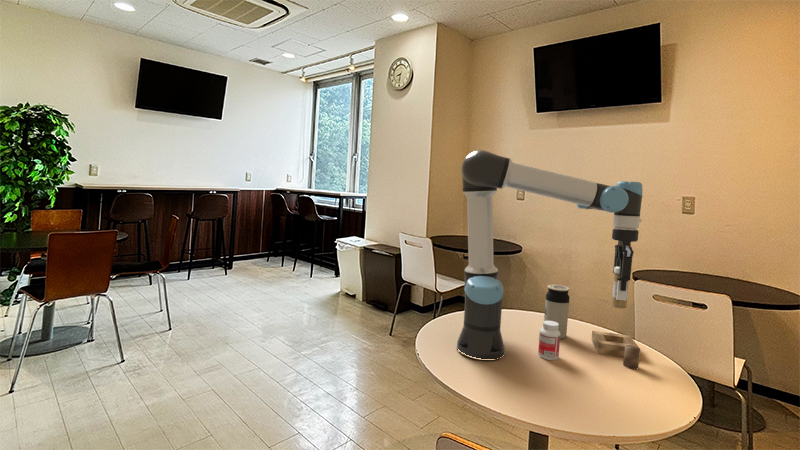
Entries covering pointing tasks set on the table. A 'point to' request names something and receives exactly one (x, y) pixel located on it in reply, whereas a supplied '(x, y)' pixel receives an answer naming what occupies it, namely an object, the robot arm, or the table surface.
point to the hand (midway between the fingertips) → (619, 297)
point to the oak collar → (611, 343)
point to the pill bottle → (549, 340)
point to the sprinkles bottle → (616, 302)
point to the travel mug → (557, 307)
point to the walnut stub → (631, 356)
